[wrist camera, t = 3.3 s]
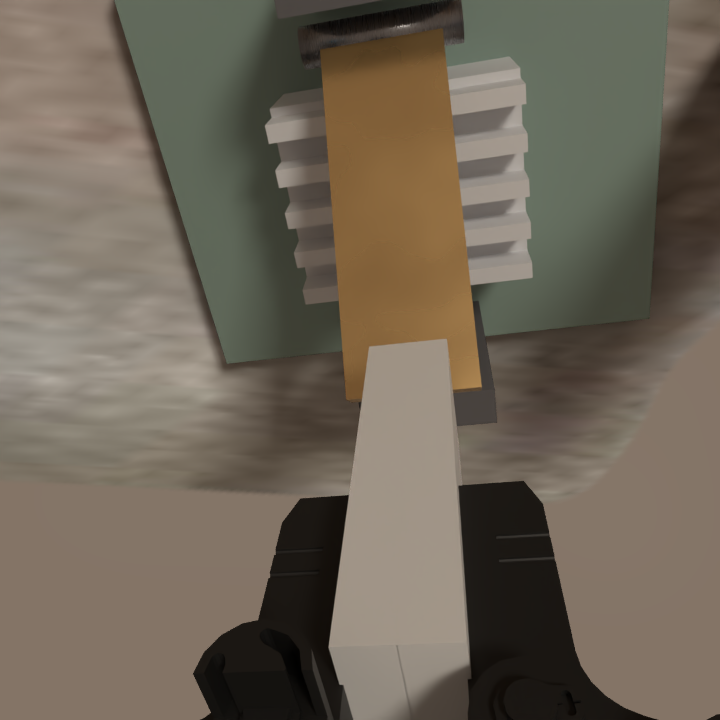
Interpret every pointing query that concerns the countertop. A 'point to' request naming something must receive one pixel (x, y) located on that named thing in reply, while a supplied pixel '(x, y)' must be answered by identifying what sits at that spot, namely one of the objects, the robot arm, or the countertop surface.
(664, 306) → the countertop surface
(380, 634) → the robot arm
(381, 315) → the strap
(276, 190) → the clamp base
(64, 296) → the countertop surface
